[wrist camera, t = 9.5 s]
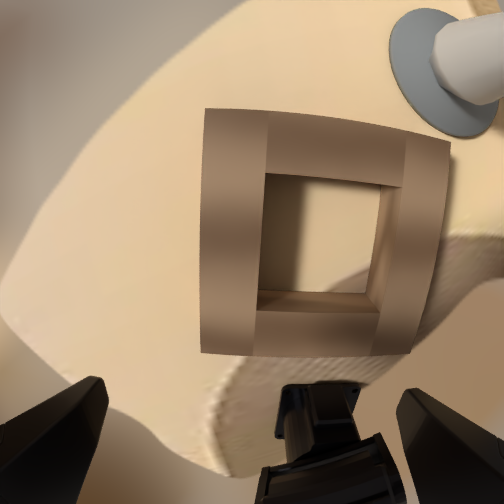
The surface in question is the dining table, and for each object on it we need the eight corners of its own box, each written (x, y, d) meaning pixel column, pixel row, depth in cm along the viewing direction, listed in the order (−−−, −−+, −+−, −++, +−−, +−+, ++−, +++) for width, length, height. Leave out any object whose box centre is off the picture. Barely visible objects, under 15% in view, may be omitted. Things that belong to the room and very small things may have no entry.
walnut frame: (394, 332, 21) (409, 353, 19) (206, 328, 21) (200, 352, 18) (426, 142, 17) (450, 142, 15) (212, 116, 17) (205, 108, 14)
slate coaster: (494, 149, 17) (499, 150, 17) (388, 119, 17) (392, 118, 17) (488, 37, 14) (492, 36, 14) (384, -6, 14) (387, -9, 14)
